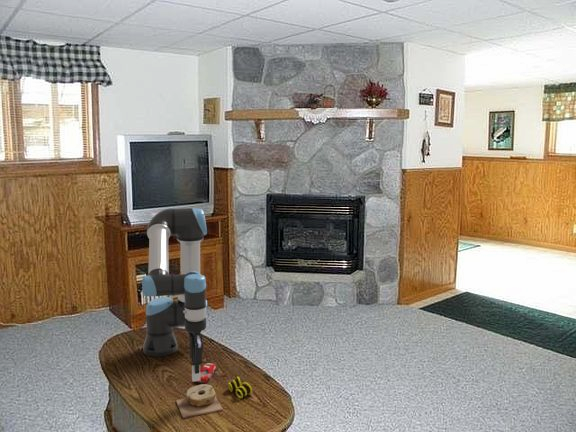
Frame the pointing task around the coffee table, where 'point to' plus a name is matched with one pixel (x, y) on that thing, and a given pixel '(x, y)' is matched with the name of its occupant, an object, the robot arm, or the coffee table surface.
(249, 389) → the opera glasses
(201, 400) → the stone disc
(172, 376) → the coffee table surface
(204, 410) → the walnut board
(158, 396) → the coffee table surface
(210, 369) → the race car
